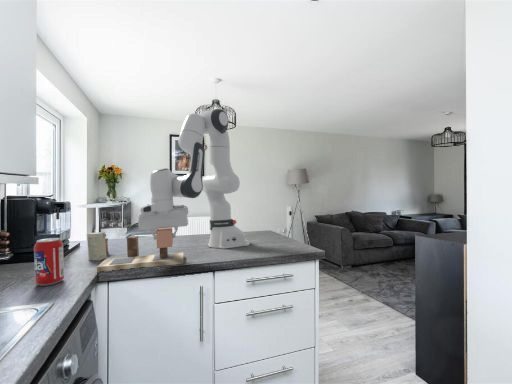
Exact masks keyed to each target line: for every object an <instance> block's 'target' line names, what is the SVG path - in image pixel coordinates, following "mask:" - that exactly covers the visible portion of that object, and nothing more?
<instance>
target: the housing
mask: <svg viewBox="0 0 512 384" xmlns="http://www.w3.org/2000/svg"><path fill="white" fill-rule="evenodd" d="M172 233H173V227H172V228H161V229H156V231H155V235H156V238H157V239H156V249H160V248H165V247H167V248H172V247H173V244H174V238H172Z"/></svg>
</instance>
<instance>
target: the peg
mask: <svg viewBox="0 0 512 384" xmlns="http://www.w3.org/2000/svg"><path fill="white" fill-rule="evenodd" d="M126 247H127V249H126V250H127V257H136V256H140V255H139V249H140V248H139V235H133V236H131V235H130V236H127V237H126Z"/></svg>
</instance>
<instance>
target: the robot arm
mask: <svg viewBox="0 0 512 384" xmlns="http://www.w3.org/2000/svg"><path fill="white" fill-rule="evenodd" d="M228 128H229V116H228V114H227V112H226V111H225V110H224V109H220V108H215V109H210V110H206V111H202V112H200V113H189V114H188V115H187V116H186V117H185V120H184V121H183V124H182V125H181V129H180V132H179V136H178V141H177V142H178V146H179V148H180V149H181V150H182V151H183V152H184V153H186V154H189V155H190V159H189V160H190V161H189V162H190V163H189V168H188V173H187V174H186V175H178V174H176V173H173V172H172V170H170V168H166V167H165V168H160V169H155V170H153V171H152V172H151V173H150V178H149V179H150V180H149V183H150V184H149V186H150V192H151V200H150V201H151V203H149V204H146V205H143V206H142V207H140V209H139V210H140V211H139V212H141V213H140V214H139V216H138V219H137V221H138V223H137V224H138V225H137V227H138V229H139V231H147V230H149V231H150V233H151V235H152V236H153V241H154V240H155V241H157V238H156V232H155V230H157V229H161V228H172V229H173V228H174V232H172V238H173V239H174V238H175V239H176V237H177V235H176V234H177V233H178V230H179V228H181V227H187V226H188V225H189V219H188V214H189V207H188V206H186V205H184V204H181V205H178V204H177V205H174V198H187V199H195V198H198V197H199V196H200V194H201V193H202V191H203V192H204V194H205V195H206V198H207V201H208V204H209V215H210V216H209V217H210V219H209V230H210V231H209V233H210V234H209V241H208V244H207V246H208V247H209V248H215V249H216V248H217V249H223V250H224V249H231V248H239V247H246V246H250V245H251V243H250V241H249V240H247V239H246V235H245V232H244V231H243V230H241V229H240V228H239V227H238V226H236V224H237V220H236V219H232V216H231V215H232V212H231V210H232V209H231V203H230V202H229V201H228V200H227V199H226V196H225V194H226V195H228V194H232V193H235V192H237V191H238V190H239V188H240V186H241V184H240V183H241V182H240V178H239V177H238V175H237V174H236V173H235V172H234V170H233V168H232V165H231V164H232V163H231V150H230V149H231V147H230V146H231V145H230V144H231V143H230V137H229V132H228ZM205 134H206V135H207V134H208V135H209V146H208V147H209V148H208V149H209V150H208V151H209V152H208V153H209V154H208V156H209V163H210V165H211V166H213V168H214V171H215V173H211V174H208V175H205V176H204V177H203V173H204V163H205V147H204V145H203V141H204V136H205Z"/></svg>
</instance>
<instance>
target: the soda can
mask: <svg viewBox="0 0 512 384" xmlns="http://www.w3.org/2000/svg"><path fill="white" fill-rule="evenodd" d="M33 255H34V256H33V257H34V258H33V259H34V260H33V261H34V282H35V283H34V284H35V285H37V286H41V287H47V286H53V285H56V284H59V283H60V282H61V281H63V280H64V279H65V266H64V265H65V263H64V259H65V258H64V242H63V241H62V240H61V238H60V237H50V238H43V239H42V238H41V239H38V240H36V243H35V244H34V245H33Z"/></svg>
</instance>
